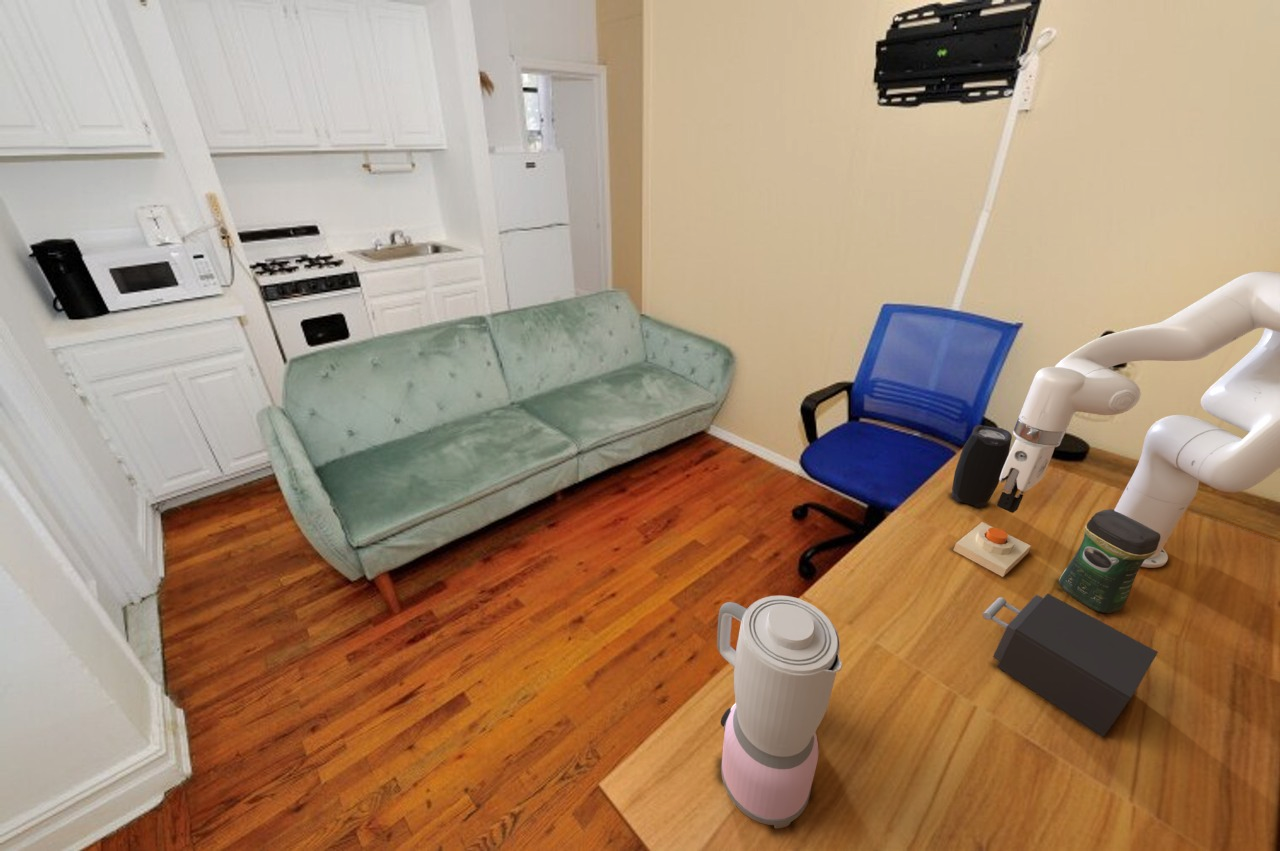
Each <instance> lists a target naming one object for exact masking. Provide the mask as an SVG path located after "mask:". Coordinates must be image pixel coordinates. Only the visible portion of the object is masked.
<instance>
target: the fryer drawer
mask: <svg viewBox="0 0 1280 851" xmlns="http://www.w3.org/2000/svg"><path fill="white" fill-rule="evenodd" d="M1043 598H1044V597H1042V596H1040V595H1038V594H1035V595H1034V596H1033V597H1032V598H1031V599H1030V601H1029V602H1028V603H1027V604H1026V605H1025V606H1024V607H1023V608H1022V609H1019V608H1017V607H1015V606H1013V605H1012V604H1010V603H1008V602H1007V600H1006V599H1005V598H1004V597H1003V596H1000V597H998V598H996V600H994V602H992V603H991V604H990V606H988V607H987V609H985V610H984V611H983V613H982V617H983V619H985V620H987V621H993V622H994V623H996V624H998V625H1000V626H1001V627H1003V628H1004V632H1003V634H1002V636H1001V638H1000V640H999V643H998V645H997V647H996V649H995V651H994V653H993V655H992V658H994V659H996V660H997V661H999V662H1000V660H1001V658H1002V656H1003V654H1004V652H1005V650H1006V648H1007V646H1008V644H1009V641H1010V639H1011V637H1012V635H1013V633H1014V631H1015V629H1016V628H1017V627H1018V625H1019V624H1020V623H1021V622H1022V621H1023V620H1024V619H1025V618H1026V617H1027V615H1028V614H1029V613H1030V612H1031V611H1032V610H1033V609H1034V608H1035V607H1036V606H1037V604H1038V603H1039V602H1040V601H1041V600H1042V599H1043ZM1003 608H1006V609H1008V610H1010V611H1012V613H1015V614H1017V615H1016V616H1014V618H1012V620H1011V621H1010V622H1009V623H1007V622H1005V621H1003V620H1002V619H1000V618H998V617H997V616H996V615H997V614H998V613H999V612H1000V611H1001V610H1002V609H1003Z"/></svg>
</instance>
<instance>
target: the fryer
mask: <svg viewBox="0 0 1280 851" xmlns="http://www.w3.org/2000/svg"><path fill="white" fill-rule="evenodd" d="M1042 598H1043V599H1042V600H1041V601H1040V602H1039V603H1038V604H1037V606H1036V607H1035V608H1034V609H1033V610H1032V611H1031V612H1030V613H1029V614H1028V615H1027V617H1026V618H1025V619H1024V620H1023V621H1022V622H1021V623H1020V624H1019V625H1018V627H1017V628H1016V629H1015V631H1014V633H1013V635H1012V637H1011V639H1010V641H1009V644H1008V646H1007V648H1006V650H1005V652H1004V654H1003V656H1002V658H1001V660H1000V661H999V662H998V664H997V668H998V669H999V670H1001V671H1002V672H1004V673H1005V674H1007V675H1009V676H1010V677H1011V678H1013V679H1014V680H1016V681H1018V682H1019V683H1020V684H1022V685H1024V686H1025V687H1026V688H1028V689H1029V690H1031V691H1032V692H1034V693H1036V694H1037V695H1038V696H1039V697H1041V698H1044V699H1045V701H1047V702H1048V703H1051V704H1052V705H1053V706H1055V707H1056V708H1058V709H1059V710H1061V711H1062V712H1064V713H1066V714H1067V715H1069V716H1070V717H1072V718H1073V719H1075V720H1076V721H1078V722H1079V723H1081V724H1082V725H1084V726H1085V727H1086V728H1088V729H1090V730H1091V731H1093V732H1094V733H1096V734H1098V736H1100V737H1102V738H1104V737H1105V736H1106V734H1107V733H1108V732H1109V730H1110V729H1111V728H1112V726H1113V724H1114V723H1115V722H1116V720H1117V719H1118V717H1119V716H1120V714H1121V713H1122V712H1123V710H1124V709H1125V708H1126V706H1127V704H1128V703H1129V702H1130V700H1131V699H1132V698H1133V696H1134V694H1135V693H1136V691H1137V689H1138V688H1139V686H1140V684H1141V682H1142V680H1143V678H1145V675H1146V674H1147V672H1148V670H1149V669H1150V667H1151V665H1152V663H1153V662H1154V661H1155V658H1156V656H1157V655H1158V653H1159V651H1158V650H1155V649H1154V648H1151V647H1150V646H1148V645H1146V644H1144V643H1142V642H1140V641H1138V640H1136V639H1134V638H1133V637H1131V636H1129V635H1127V634H1126V633H1123V632H1122V631H1119V630H1118V629H1116V628H1114V627H1112V626H1110V625H1108V624H1107V623H1105V622H1102V621H1100V620H1098V619H1097V618H1095V617H1093V616H1091V615H1090V614H1088V613H1085V612H1083V611H1082V610H1080V609H1079V608H1076V607H1074V606H1072V605H1071V604H1068V603H1067V602H1065V601H1062V600H1061V599H1060V598H1057V597H1055V596H1053V595H1052V594H1049V593H1047V594H1045V595H1044V596H1043V597H1042Z"/></svg>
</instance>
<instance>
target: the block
mask: <svg viewBox="0 0 1280 851" xmlns="http://www.w3.org/2000/svg"><path fill="white" fill-rule="evenodd" d="M989 528H994V527H993V526H991V525H989V524H987V523H986V522H983V521H981V522H980V523H979V524H977V526H975V527H974V528H973V529H971V530H970V531H969V532H968V533H966V534H965V535H964V536H963V537H962V538H960V539H959V540H958V541H957V542H956V543H955V545H954V548H953V551H954V552H955V553H957V554H960V555H962V556H963V557H964V558H967V559H969V560H971V561H972V562H974V563H976V564H977V565H979V566H981V567H983V568H985V569H986V570H989V571H991V572H993V573H995V574H996V575H998V576H1000V577H1002V578H1004V577H1005V576H1006V574H1008V573H1009V572H1010V571H1011V570H1012V569H1013V568H1015V567H1016V565H1017V564H1019V563H1020V561H1021V560H1023V558H1025V557H1026V556H1027V555H1028V554H1029V551H1030V549H1031V548H1032V545H1030V544H1028V543H1026V542H1024V541H1022V540H1021V539H1018V538H1016V537H1014V536H1012V535H1010V534H1008V537H1007V540H1006V542H1005V544H1002V545H1000V544H996V543H993V542H991V541H989V540H988V539H987V538H986V534H987V531H988V529H989Z"/></svg>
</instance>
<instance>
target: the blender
mask: <svg viewBox="0 0 1280 851" xmlns="http://www.w3.org/2000/svg"><path fill="white" fill-rule="evenodd" d="M718 611H719V613H718V618H717V632H716V633H717V634H716V645H717V646H716V647H717V650H718V652H719V654H720V655H721V657H722V658H723V659H724V660H725V661H726V662H728V664H730V665H731V666H732V667H733V692H734V700H735V703H734V704H733V705H732V706H731V707H728V708H727V709H726V710H725V711H724V713H723V714H722V716H721V719H720V725H721V726H722V727H723V732H724V735H723V744H722V757H721V765H720V766H721V767H720V771H721V779H722V783H723V786H724V789H725V791H726V793H727V795H728V797H729V798H730V800H731V802H732V803H733V804H734V805H735V806H736V808H737V809H738V810H739V811H740V812H741V813H742V814H744V815H745V816H747V817H748V818H750V819H752V820H753V821H756V822H758V823H760V824H764V825H768V826H773V827H774V829H782V828H786V827H789V826H790V825H791V823H792V822H793V821H795V820H796V819H798V818H799V817H800V816H801V814H803V812H804V811H805V809H806V807H807V805H808V803H809V800H810V798H811V797H810V796H811V792H812V785H813V781H814V778H815V773H816V770H817V765H818V760H819V742H818V737H817V733H816V732H817V729H818V728H819V726H820V724H821V723H822V720H823V719H824V716H825V714H826V712H827V709H828V707H829V705H830V704H829V703H830V700H831V696H832V691H833V687H834V684H835V680H836V675H837V672H839V671H842V667H843V663H842V661H841V659H840V650H841V649H840V648H841V641H840V636H839V634H838V631H837V629H836V627H835V625H834V623H833V622H832V621H831V620H830V618H829V617H828V616H827V615H826V613H824V612H823V611H821V610H820V609H819V608H818V607H816V606H815V605H813V604H812V603H810V602H808V601H806V600H803V599H801V598H798V597H794V596H790V595H780V594H779V595H770V596H765V597H762V598H759V599H758V600H756V601H754V602H753V603H751V604H749V607H747V608H746V607H744V606H742V605H741V604H739V603H737V602H734V601H729V602H724V603H723V604H722V605H721V606H720V608H719V610H718ZM733 618H734V619H735V620H737V621H738V622H740V627H739V632H738V637H737V642H736V648H735V649H734V648H733V647H732V646H731V631H732V623H733V622H732V621H733Z"/></svg>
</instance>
